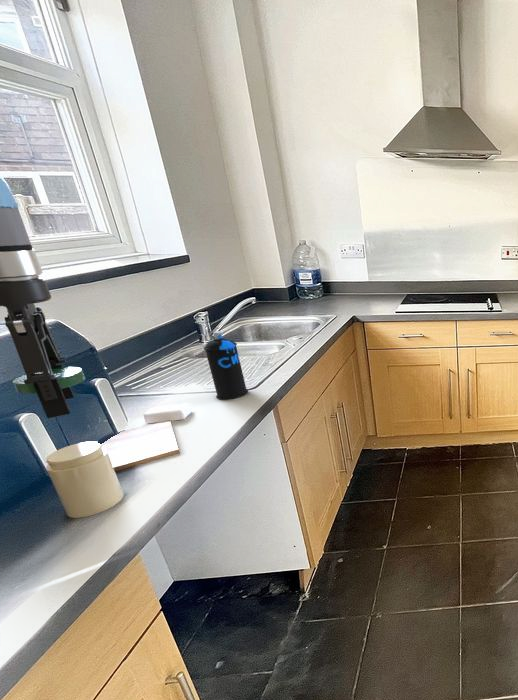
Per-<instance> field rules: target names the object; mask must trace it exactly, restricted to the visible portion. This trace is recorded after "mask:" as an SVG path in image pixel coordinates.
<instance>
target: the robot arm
mask: <svg viewBox="0 0 518 700" xmlns="http://www.w3.org/2000/svg"><path fill="white" fill-rule="evenodd" d="M28 234H29V233H28V232H27V228H26V227H25V223H24V221H23V218H22V215H21V212H20V210H19V203H18V202H17V201H16V199H15V197H14V195H13V192H12V191H11V189H10V187H9V184H8V182H7V181H6V180H5V179H4V178H3V177H1V176H0V307H4V308H6V312H7V315H6V316H4V321H5V324H4V325H5V327H6V328H7V330H8V332H9V334H10V336H11V339H12V341H13V344H14V347H15V349H16V353H17V355H18V357H19V360H20V362H21V366H22V368H23V370H24V374H25V375H26V376H27V380H24V382H25V384H31V383H33V385H34V388H35V390H36V392H37V393H36V395H37V397H38V399H39V401H40V405H41V406H42V409H43V411H44V413H45V416H46V418H47V419H51V418H56V417H62V416H65V415H70V414H71V410H70V408H69V405H68V402H67V400H71V399H75V395H74V393H73V390H72V386H70V387H67V388H63V389H61V387H60V385H59V382H58V380H57V378H54V377H55V376H54V375H53V372H52V369H54V368H62V367H63V364H64V363H67V360H66V357H65V356H64V357H61V352H59V350H58V347H57V345H56V342H55V340H54V339H53V336H52V334H51V332H50V328H49V326H48V324H47V322H46V315H45V313H44V312H43V309H42V307H40V306H36V305H35V304H39V303H40V304H41V303H44V302H47V301H50V300H51V299H52V295H51V292H50V290H49V287H48V284H47V281H46V279H45V278H43V277H41V276H40V275H42V274H43V270H42V266H41V265H40V262H39V259H38V256H37V254H36V251H35V249H34V248H33V245H32V243H31V242H32V241H31V240H30V237H29V235H28ZM40 372H43V373H40ZM35 373H38V374H35Z"/></svg>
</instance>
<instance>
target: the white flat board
mask: <svg viewBox="0 0 518 700" xmlns="http://www.w3.org/2000/svg"><path fill="white" fill-rule="evenodd" d="M119 432H120V433H119ZM119 432H118V433H119V434H117V435H115V436H113V437H111V438H110V439H108V440H107V441H105V442H104V443H102V444H101V447H102V448H104V449H106V450H107V452H108V454H109V457H110V460H111V462H112V465H113V467H114V470H115V472H118V471H121V470H125V469H128V468H131V467H135V466H139V465H142V464H145V463H149V462H152V461H155V460H160V459H163V458H166V457H170V456H173V455H177V454H180V452H181V451H180V447H179V444H178V441H177V438H176V434H175V431H174V428H173V424H172V421H170V420H167V421H163V422H157V423H150V424H147V425H143V426H139V427H135V428H130V429H127V430H122V431H119Z"/></svg>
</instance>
